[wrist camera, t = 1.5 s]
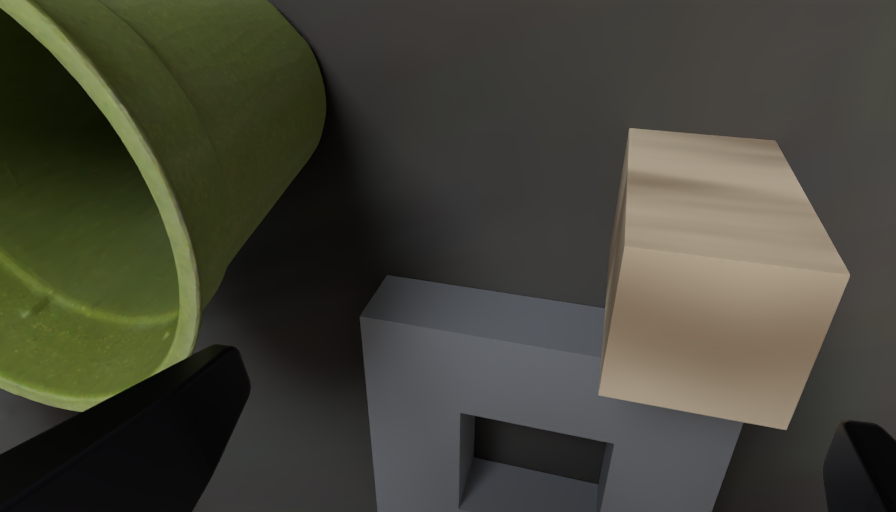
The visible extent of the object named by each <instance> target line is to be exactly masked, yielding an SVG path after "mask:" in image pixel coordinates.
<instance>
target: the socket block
mask: <svg viewBox="0 0 896 512" xmlns="http://www.w3.org/2000/svg"><path fill="white" fill-rule="evenodd" d="M604 317H605V308H599V307H593V306H586V305H580V304H573V303H567V302H560V301H554V300H547V299H541V298H534V297H528V296H521V295H514V294H508V293H501V292H495V291H488V290H482V289H475V288H469V287H462V286H456V285H449V284H443V283H436V282H430V281H423V280H417V279H410V278H403V277H397V276H390V275H387V276H386V277H385V279H384V280H383V282H382V283H381V285H380V286H379V288H378V289H377V291H376V292H375V294H374V295H373V297H372V298H371V300H370V301H369V303H368V304H367V306H366V307H365V309H364V310H363V312H362V313H361V315H360V326H361V337H362V348H363V358H364V369H365V380H366V391H367V402H368V412H369V423H370V434H371V445H372V456H373V466H374V477H375V488H376V499H377V510H378V512H712V510H713V507H714V504H715V501H716V498H717V496H718V493H719V490H720V487H721V484H722V482H723V479H724V476H725V473H726V470H727V468H728V465H729V462H730V459H731V457H732V454H733V451H734V448H735V445H736V443H737V440H738V437H739V434H740V431H741V429H742V426H743V423H744V422H739V421H734V420H729V419H723V418H718V417H712V416H707V415H702V414H696V413H691V412H685V411H680V410H674V409H669V408H664V407H658V406H653V405H647V404H642V403H637V402H631V401H626V400H620V399H615V398H610V397H604V396H599V395H598V391H599V379H600V367H601V354H602V342H603V330H604ZM475 416H479V417H484V418H489V419H494V420H498V421H503V422H508V423H513V424H518V425H523V426H528V427H533V428H538V429H543V430H548V431H553V432H558V433H563V434H568V435H573V436H578V437H583V438H588V439H592V440H597V441H602V442H606V447H605V452H604V457H603V462H602V468H601V473H600V478H599V483H598V484H594V483H589V482H585V481H580V480H576V479H571V478H566V477H562V476H557V475H553V474H548V473H543V472H539V471H534V470H530V469H525V468H521V467H516V466H511V465H507V464H502V463H498V462H493V461H488V460H484V459H479V458H475V457H474V438H475Z"/></svg>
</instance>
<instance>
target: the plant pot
mask: <svg viewBox="0 0 896 512" xmlns="http://www.w3.org/2000/svg"><path fill="white" fill-rule="evenodd" d="M325 117H326V95H325V89H324V84H323V80H322V76H321V72H320V69H319V66H318V64H317V61H316V59H315V56H314V54H313V52H312V50H311V49H310V47H309V45H308V43H307V42H306V41H305V40H304V38H303V37H301V36H300V35H299V34H298V32H297V31H296V30H295V29H294V28H293V27H292V25H291V24H290V23H289V22H288V21H287V20H286V19H285V18H284V17H283V15H282V14H281V13H280V12H279V11H278V10H277V9H276V8H275V7H274V6H273V5H272V4H271V3H270V2H268V1H267V0H0V388H2V389H4V390H6V391H8V392H11V393H13V394H16V395H19V396H22V397H25V398H27V399H30V400H33V401H36V402H39V403H42V404H46V405H49V406H53V407H58V408H62V409H67V410H72V411H78V412H83V411H85V410H87V409H89V408H91V407H93V406H95V405H97V404H99V403H101V402H102V401H104V400H106V399H108V398H110V397H112V396H114V395H116V394H118V393H120V392H122V391H124V390H126V389H128V388H130V387H131V386H133V385H135V384H137V383H139V382H141V381H143V380H145V379H147V378H149V377H151V376H153V375H155V374H157V373H158V372H160V371H162V370H164V369H166V368H168V367H170V366H172V365H174V364H176V363H178V362H180V361H182V360H184V359H186V358H187V357H189V356H191V355H192V353H193V351H194V349H195V346H196V343H197V340H198V336H199V331H200V327H201V322H202V311H203V310H204V309H205V307H206V306H207V305H208V303H209V302H210V300H211V299H212V298H213V296H214V295H215V293H216V291H217V290H218V288H219V286H220V284H221V282H222V279H223V277H224V275H225V272H226V269H227V266H228V265H229V264H230V262H231V261H232V260H233V258H234V257H235V256H236V254H237V253H238V252H239V250H240V249H241V248H242V246H243V245H244V244H245V242H246V241H247V240H248V238H249V237H250V236H251V234H252V233H253V232H254V231H255V229H256V228H257V227H258V225H259V224H260V223H261V222H262V220H263V219H264V218H265V216H266V215H267V214H268V212H269V211H270V210H271V209H272V207H273V206H274V205H275V203H276V202H277V201H278V199H279V198H280V197H281V195H282V194H283V193H284V191H285V190H286V189H287V187H288V186H289V185H290V183H291V182H292V181H293V180H294V178H295V177H296V176H297V175H298V173H299V172H300V171H301V169H302V168H303V167H304V165H305V164H306V163H307V161H308V160H309V159H310V157H311V156H312V154H313V152H314V151H315V149H316V148H317V146H318V144H319V141H320V139H321V136H322V131H323V127H324V122H325Z"/></svg>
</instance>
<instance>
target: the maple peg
mask: <svg viewBox="0 0 896 512" xmlns="http://www.w3.org/2000/svg"><path fill="white" fill-rule="evenodd" d="M849 277H850V274H849V272H848V270H847V268H846V266H845V265H844V263H843V261H842V259H841V257H840V256H839V254H838V252H837V250H836V248H835V247H834V245H833V243H832V241H831V240H830V238H829V236H828V234H827V232H826V231H825V229H824V227H823V225H822V223H821V222H820V220H819V218H818V216H817V214H816V213H815V211H814V209H813V207H812V205H811V204H810V202H809V200H808V198H807V197H806V195H805V193H804V191H803V189H802V188H801V186H800V184H799V182H798V180H797V179H796V177H795V175H794V173H793V171H792V170H791V168H790V166H789V164H788V162H787V161H786V159H785V157H784V155H783V153H782V152H781V150H780V148H779V146H778V145H777V143H776V141H772V140H760V139H749V138H737V137H726V136H714V135H703V134H691V133H679V132H668V131H656V130H645V129H633V128H629V133H628V140H627V146H626V152H625V158H624V164H623V170H622V176H621V183H620V189H619V195H618V201H617V207H616V213H615V219H614V226H613V232H612V238H611V244H610V256H609V268H608V280H607V293H606V305H605V317H604V330H603V342H602V354H601V367H600V379H599V391H598V395H599V396H604V397H610V398H615V399H620V400H626V401H631V402H637V403H642V404H647V405H653V406H658V407H664V408H669V409H674V410H680V411H685V412H691V413H696V414H702V415H707V416H712V417H718V418H723V419H729V420H734V421H739V422H745V423H750V424H756V425H761V426H766V427H772V428H777V429H783V430H787V428H788V425H789V423H790V420H791V418H792V415H793V413H794V411H795V408H796V406H797V403H798V401H799V399H800V396H801V394H802V391H803V389H804V386H805V384H806V382H807V379H808V377H809V374H810V372H811V369H812V367H813V365H814V362H815V360H816V357H817V355H818V352H819V350H820V348H821V345H822V343H823V340H824V338H825V335H826V333H827V331H828V328H829V326H830V323H831V321H832V319H833V316H834V314H835V311H836V309H837V306H838V304H839V302H840V299H841V297H842V294H843V292H844V289H845V287H846V285H847V282H848V280H849Z"/></svg>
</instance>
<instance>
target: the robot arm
mask: <svg viewBox="0 0 896 512" xmlns="http://www.w3.org/2000/svg"><path fill="white" fill-rule="evenodd" d="M250 389H251V383H250V379H249V376H248V374H247V371H246V368H245V365H244V362H243V360H242V357H241V354H240V352H239V350H238V349H237V348H236V347H233V346H226V345H218V344H217V345H211V346H209V347H207V348H205V349H203V350H201V351H199V352H197V353H195V354H193V355H191V356H189V357H187V358H186V359H184V360H182V361H180V362H178V363H176V364H174V365H172V366H170V367H168V368H166V369H164V370H162V371H160V372H158V373H157V374H155V375H153V376H151V377H149V378H147V379H145V380H143V381H141V382H139V383H137V384H135V385H133V386H131V387H130V388H128V389H126V390H124V391H122V392H120V393H118V394H116V395H114V396H112V397H110V398H108V399H106V400H104V401H102V402H101V403H99V404H97V405H95V406H93V407H91V408H89V409H87V410H85V411H83V412H81V413H79V414H77V415H75V416H74V417H72V418H70V419H68V420H66V421H64V422H62V423H60V424H58V425H56V426H54V427H52V428H50V429H48V430H46V431H45V432H43V433H41V434H39V435H37V436H35V437H33V438H31V439H29V440H27V441H25V442H23V443H21V444H19V445H18V446H16V447H14V448H12V449H10V450H8V451H6V452H4V453H2V454H0V512H192V511H193V509H194V507H195V506H196V504H197V502H198V500H199V499H200V497H201V495H202V493H203V492H204V490H205V488H206V486H207V485H208V483H209V481H210V479H211V477H212V475H213V473H214V471H215V469H216V467H217V465H218V463H219V461H220V459H221V457H222V454H223V452H224V450H225V448H226V446H227V443H228V441H229V439H230V437H231V435H232V432H233V430H234V428H235V426H236V424H237V422H238V419H239V417H240V415H241V413H242V411H243V408H244V406H245V404H246V402H247V400H248V397H249V394H250ZM823 479H824V487H825V494H826V500H827V507H828V512H896V440H895V439H894V438H893V437H892V436H891V435H890V434H888V433H887V432H886V431H885V430H884V429H883V428H882V427H880V426H879V425H877V424H874V423H868V422H860V421H852V420H842V421H840V422H839V423H838V424H837V426H836V428H835V431H834V434H833V437H832V440H831V443H830V446H829V449H828V452H827V455H826V458H825V462H824V467H823Z"/></svg>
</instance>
